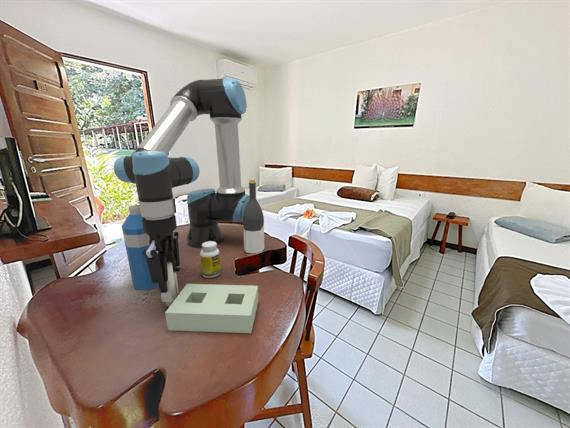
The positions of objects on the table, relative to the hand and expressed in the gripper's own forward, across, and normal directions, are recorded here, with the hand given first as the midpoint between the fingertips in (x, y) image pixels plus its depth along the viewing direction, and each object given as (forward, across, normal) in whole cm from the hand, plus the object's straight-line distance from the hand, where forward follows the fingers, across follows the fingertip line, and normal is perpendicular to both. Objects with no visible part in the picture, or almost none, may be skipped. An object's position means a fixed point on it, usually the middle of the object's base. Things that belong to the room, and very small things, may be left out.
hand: (170, 296), depth 67 cm
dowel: (+2, 0, 0) cm, 2 cm away
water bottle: (+2, -10, -12) cm, 16 cm away
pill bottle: (+2, -16, +6) cm, 17 cm away
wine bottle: (+2, -33, +18) cm, 38 cm away
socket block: (+2, +4, +14) cm, 15 cm away
